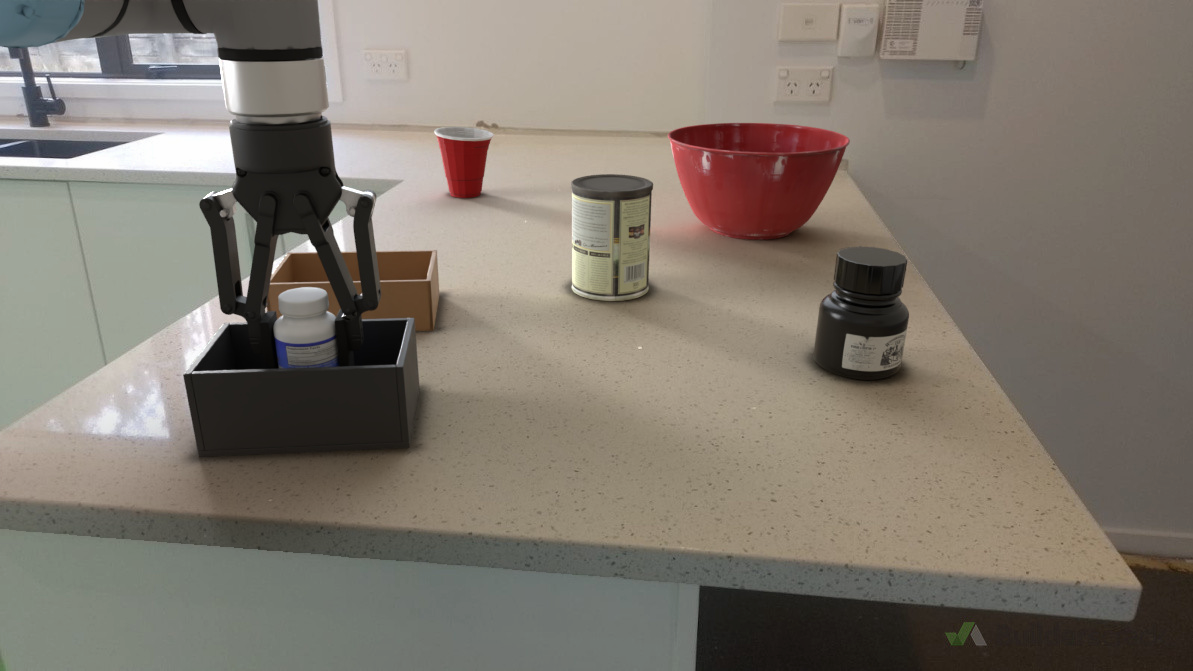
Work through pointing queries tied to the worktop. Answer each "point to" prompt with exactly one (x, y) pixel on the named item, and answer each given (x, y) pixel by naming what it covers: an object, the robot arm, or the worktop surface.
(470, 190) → the plastic cup
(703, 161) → the mixing bowl
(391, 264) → the carton
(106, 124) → the worktop surface
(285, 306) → the pill bottle
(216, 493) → the worktop surface
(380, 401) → the open box
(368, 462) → the worktop surface
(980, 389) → the worktop surface
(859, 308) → the ink bottle
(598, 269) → the coffee can
